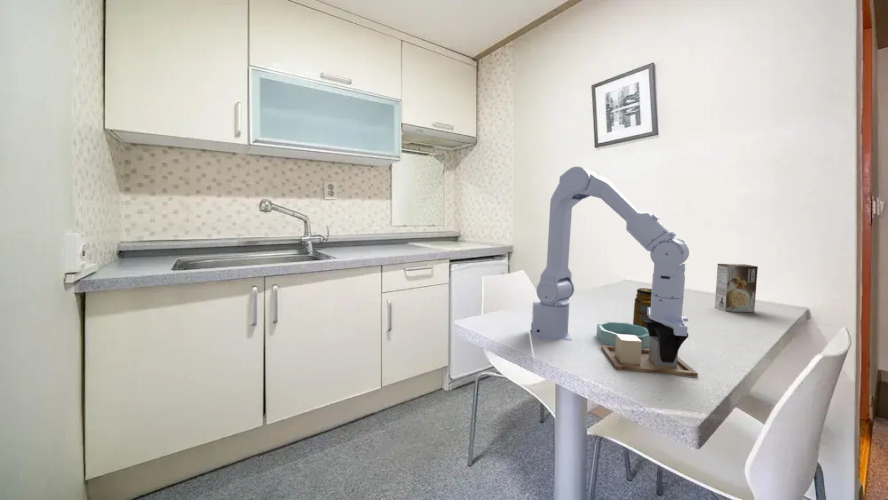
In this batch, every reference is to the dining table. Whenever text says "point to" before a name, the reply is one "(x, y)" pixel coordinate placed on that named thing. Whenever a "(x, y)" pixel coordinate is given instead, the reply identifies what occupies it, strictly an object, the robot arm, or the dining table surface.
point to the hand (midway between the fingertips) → (662, 357)
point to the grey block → (658, 353)
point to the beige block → (628, 348)
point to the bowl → (621, 332)
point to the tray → (648, 364)
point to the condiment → (642, 306)
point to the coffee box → (736, 287)
